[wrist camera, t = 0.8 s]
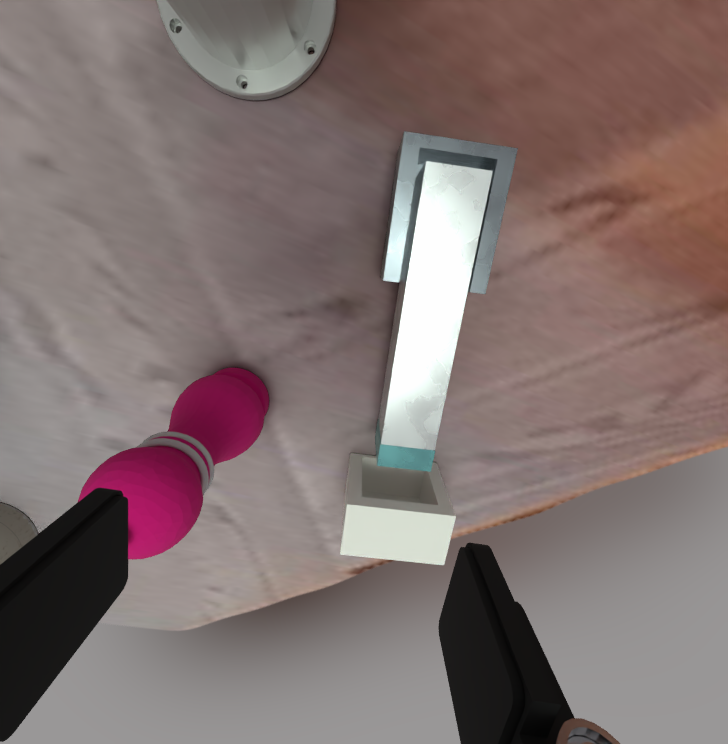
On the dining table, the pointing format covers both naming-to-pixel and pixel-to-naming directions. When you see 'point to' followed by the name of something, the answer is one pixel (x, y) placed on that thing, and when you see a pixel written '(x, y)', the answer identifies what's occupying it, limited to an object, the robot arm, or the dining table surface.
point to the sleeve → (451, 152)
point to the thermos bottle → (14, 531)
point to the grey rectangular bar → (429, 311)
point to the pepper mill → (183, 458)
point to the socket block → (395, 513)
